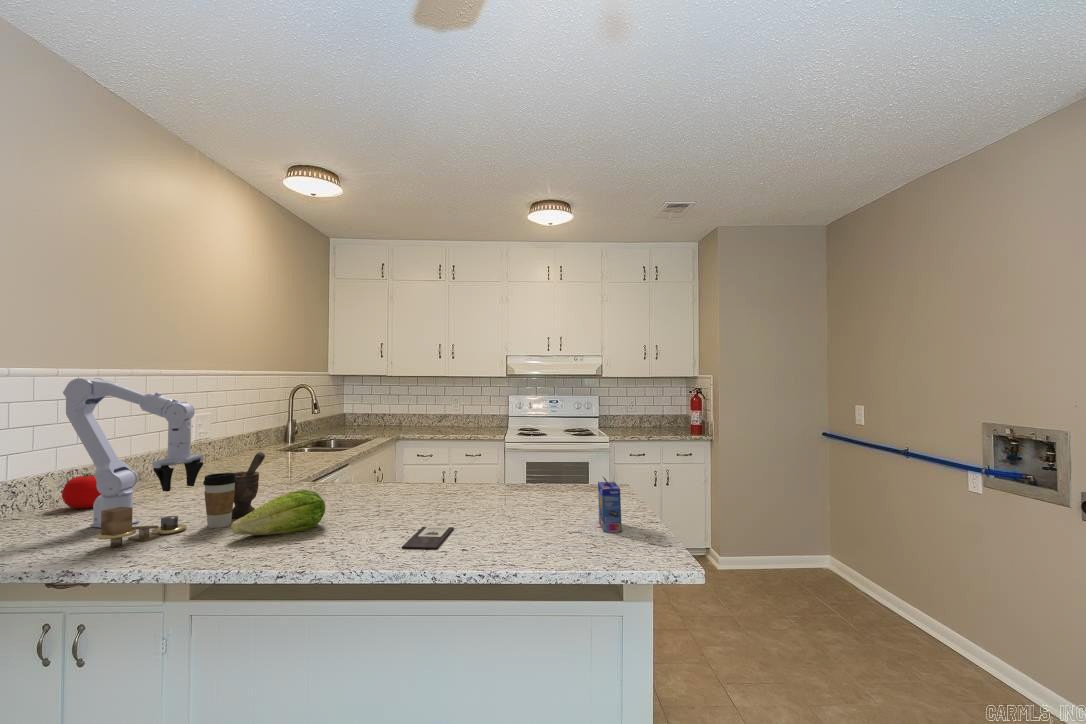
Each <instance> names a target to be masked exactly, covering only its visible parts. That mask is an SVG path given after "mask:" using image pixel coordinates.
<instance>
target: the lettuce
mask: <svg viewBox="0 0 1086 724" xmlns="http://www.w3.org/2000/svg"><path fill="white" fill-rule="evenodd" d="M325 513H326V503H325V500H324V499H323V498H322V496H321V495H320V494H319V493H318V492H316V491H311V490H306V489H302V490H295V491H292V492H288V493H286V494H283V495H282V494H281V495H280V496H277V497H274V499H271V500H270V501H268V502H266V503H265V502H264V503H263V504H262V505H260V506H258V507H257V508H255V510H253V511H252V512H250V513H249V514H247V515H245V516H244V517H240V518H237V519H236V520H235V521H232V522H231V524H230V528H231V529H230V530H231V531H232V533H233V534H234V535H255V536H267V535H279V534H280V535H281V534H290V533H291V534H292V533H298V532H302V531H306V530H311V529H313V528H314V527H316V526H317V525H318V524H319V523H320V522H321V521H322V519H323V517H324V515H325Z"/></svg>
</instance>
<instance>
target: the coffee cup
mask: <svg viewBox="0 0 1086 724" xmlns="http://www.w3.org/2000/svg"><path fill="white" fill-rule="evenodd" d="M235 482H236V476H235V472H221V473H210V474H207V475H205V476H204V480H203V483H202V485H203V486H204V501H205V514H206V522H207V523H206V524H207V526H206V527H208V528H210V529H218V528H224V527H228V526H231V523H232V510H233V508H234V494H235V489H234V487H235Z"/></svg>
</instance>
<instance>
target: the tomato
mask: <svg viewBox="0 0 1086 724" xmlns="http://www.w3.org/2000/svg"><path fill="white" fill-rule="evenodd" d="M96 485H97V482H96V479H95V477H94V474H89V473H86V474H83V475H79V476H76V477H75V476H74V477H72V478H70V479H69V480H68V481H67V483H66V484H65V485H64V487H63V489H62V491H61V498H62V501H63V502H64V504H65V505H67V506H68V507H70V508H73V509H80V510H81V509H91V508H92V509H93V505H94V502H95V500H96V498H97V497H98V496H100V495H102V494H101V493H99V491H98V490H97V486H96Z"/></svg>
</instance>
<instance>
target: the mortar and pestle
mask: <svg viewBox="0 0 1086 724" xmlns="http://www.w3.org/2000/svg"><path fill="white" fill-rule="evenodd" d="M265 457H266V454H265V453H264V452H261V451H259V452H257V453H256V454H255V455H254V457H253V459H252V461H251V463H250V465H249V468H248V469H247V471H245V470H243V471H242V470H241V471H236V472H234V473H235V476H236V482H235V487H234V489H235V494H234V502H233V505H234V506H233V510H232V518H233V519H240V518H242V517H244V516H245V515H247V514H249V513H250V512H252V511H253V510H255V509H256V508H255V507H253V506H252V502H253V500H254V499H256V497H257V494H258V490H259V486H260V485H259V480H260V472H258V471H257V470H258V468H259V467H260V465H262V463H263V461H264V459H265Z"/></svg>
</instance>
